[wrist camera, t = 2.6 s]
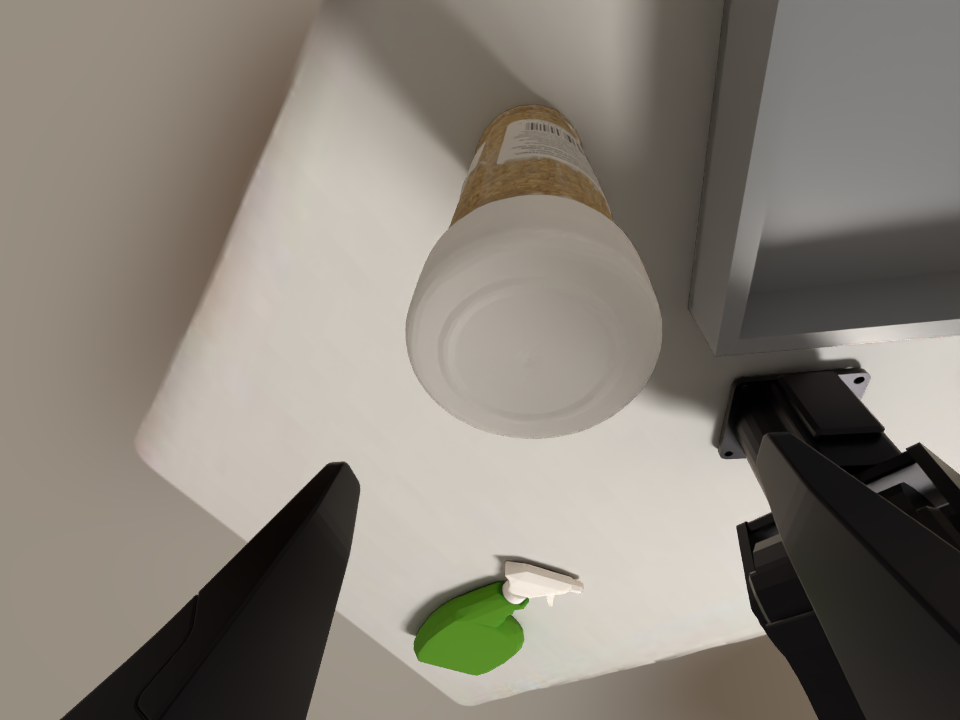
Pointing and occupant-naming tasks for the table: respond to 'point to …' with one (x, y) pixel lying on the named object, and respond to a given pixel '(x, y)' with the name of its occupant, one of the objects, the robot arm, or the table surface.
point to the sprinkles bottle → (533, 291)
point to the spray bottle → (487, 620)
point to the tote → (831, 176)
